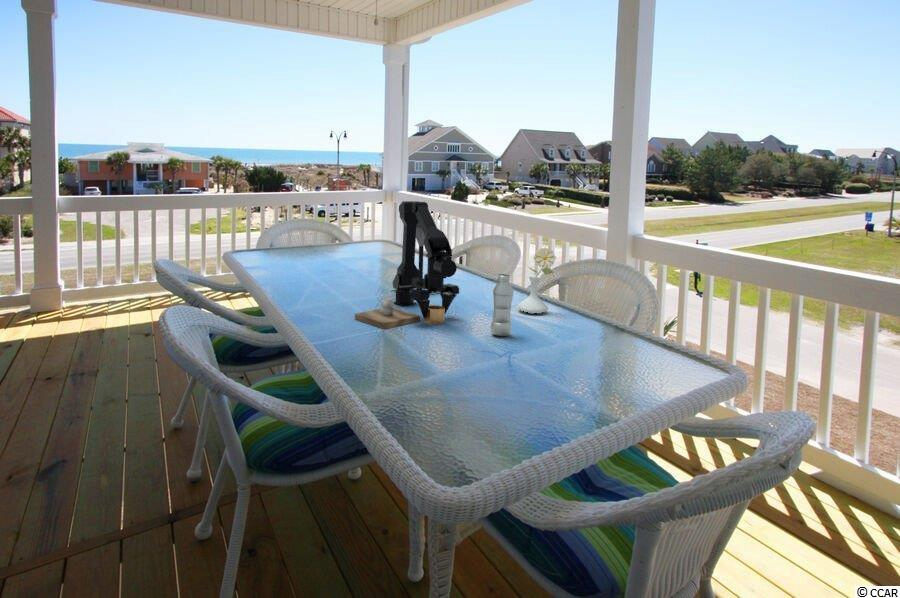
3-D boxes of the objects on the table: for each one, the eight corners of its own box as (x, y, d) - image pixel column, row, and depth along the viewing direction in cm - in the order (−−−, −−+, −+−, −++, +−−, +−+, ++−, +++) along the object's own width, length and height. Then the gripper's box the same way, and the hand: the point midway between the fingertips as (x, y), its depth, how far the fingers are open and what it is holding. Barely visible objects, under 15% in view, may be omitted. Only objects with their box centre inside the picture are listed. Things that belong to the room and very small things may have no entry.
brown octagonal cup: (434, 317, 215) (435, 304, 214) (448, 321, 211) (449, 307, 210) (420, 320, 211) (420, 306, 209) (433, 325, 206) (434, 310, 205)
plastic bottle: (488, 332, 199) (491, 272, 195) (509, 332, 200) (512, 273, 195) (491, 338, 193) (494, 276, 188) (512, 338, 193) (516, 277, 189)
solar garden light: (402, 294, 250) (403, 222, 243) (409, 289, 262) (410, 219, 255) (431, 297, 248) (433, 223, 241) (437, 290, 260) (439, 220, 253)
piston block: (390, 312, 221) (390, 292, 219) (420, 321, 210) (420, 300, 208) (354, 319, 210) (354, 298, 208) (384, 329, 199) (384, 307, 197)
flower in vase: (513, 313, 225) (517, 247, 220) (522, 307, 236) (526, 243, 230) (548, 318, 221) (553, 250, 215) (555, 311, 231) (560, 246, 225)
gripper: (438, 265, 219) (437, 307, 222) (399, 271, 206) (398, 315, 209) (461, 270, 211) (459, 313, 215) (421, 276, 198) (420, 322, 202)
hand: (434, 315), depth 210 cm, fingers open, 9 cm apart
